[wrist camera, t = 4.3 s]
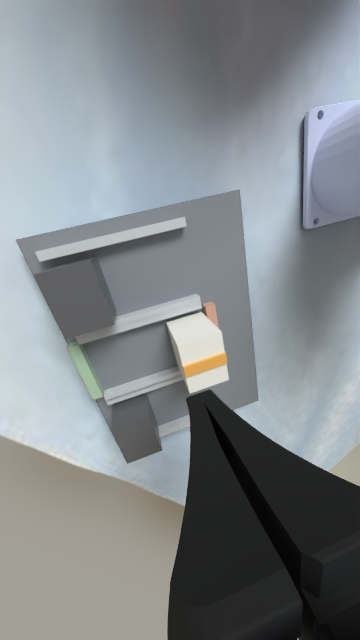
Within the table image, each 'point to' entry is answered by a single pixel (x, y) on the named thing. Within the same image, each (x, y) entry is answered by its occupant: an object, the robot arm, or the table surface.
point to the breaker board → (149, 309)
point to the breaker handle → (198, 351)
